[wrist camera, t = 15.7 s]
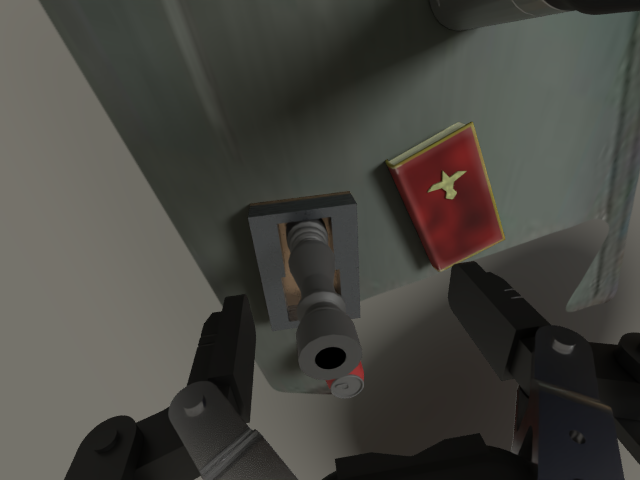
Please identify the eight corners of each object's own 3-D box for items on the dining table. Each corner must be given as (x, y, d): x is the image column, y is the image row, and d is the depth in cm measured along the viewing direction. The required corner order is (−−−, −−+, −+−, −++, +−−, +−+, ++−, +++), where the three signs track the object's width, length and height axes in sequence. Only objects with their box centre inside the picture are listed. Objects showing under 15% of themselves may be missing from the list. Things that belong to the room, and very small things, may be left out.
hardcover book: (428, 260, 58) (438, 274, 54) (383, 160, 48) (392, 168, 44) (491, 228, 56) (506, 240, 52) (458, 117, 46) (474, 122, 42)
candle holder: (314, 252, 52) (343, 387, 30) (279, 239, 50) (283, 373, 28) (332, 220, 50) (378, 342, 28) (296, 205, 48) (315, 323, 26)
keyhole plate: (349, 191, 49) (356, 203, 44) (353, 298, 59) (360, 317, 55) (250, 203, 48) (247, 217, 43) (272, 311, 58) (272, 331, 54)
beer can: (321, 319, 61) (331, 373, 50) (355, 321, 62) (371, 374, 51) (315, 345, 64) (323, 400, 53) (347, 346, 65) (361, 400, 54)
